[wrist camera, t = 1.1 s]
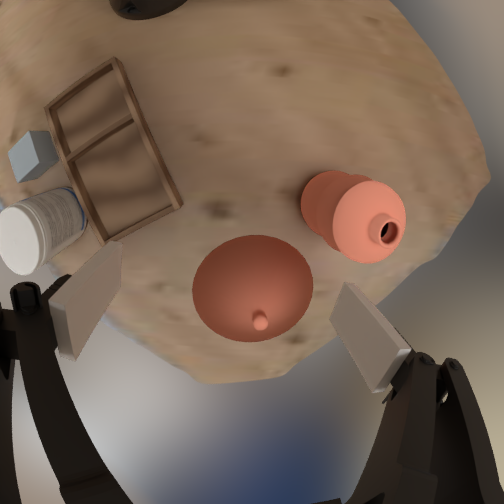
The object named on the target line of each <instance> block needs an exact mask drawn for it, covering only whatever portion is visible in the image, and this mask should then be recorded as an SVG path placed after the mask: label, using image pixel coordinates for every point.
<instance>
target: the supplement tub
mask: <svg viewBox="0 0 504 504" xmlns="http://www.w3.org/2000/svg"><path fill="white" fill-rule="evenodd" d="M86 223H87V217H86V215H85V213H84V211H83V209H82V207H81V205H80V203H79V200H78V198H77V196H76V194H75V191H74V190H73V189H71V188H67V187H61V188H57V189H54V190H50V191H47V192H44V193H41V194H38V195H35V196H33V197H30V198H27V199H24V200H21V201H19V202H16V203H14V204H12V205H10V206H9V207H7V208H6V209H4V210H3V211H2V212H1V213H0V255H1V257H2V259H3V261H4V262H5V264H6V265H7V266H8V267H9V268H10V269H11V270H12V271H13V272H15V273H17V274H19V275H28V274H30V273H32V272H34V271H36V270H37V269H39V268H40V267H41V266H43V265H44V264H45V263H46V262H48V261H49V260H50V259H52V258H53V257H54V256H55V255H57V254H58V253H59V252H61V251H62V250H63V249H65V248H66V247H68V246H69V245H70V244H72V243H73V242H74V241H76V240H77V239H78V238H79V237H80V236H81V235H82V234H83V232H84V230H85V227H86Z"/></svg>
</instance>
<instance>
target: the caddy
mask: <svg viewBox="0 0 504 504" xmlns="http://www.w3.org/2000/svg"><path fill="white" fill-rule="evenodd" d="M44 110H45V113H46V116H47V120H48V123H49V126H50V129H51V132H52V135H53V138H54V141H55V144H56V147H57V149H58V152H59V155H60V158H61V160H62V163H63V165H64V168H65V170H66V173H67V175H68V178H69V180H70V182H71V185H72V187H73V189H74V191H75V194H76V196H77V198H78V200H79V203H80V205H81V207H82V209H83V211H84V213H85V215H86V217H87V219H88V221H89V223H90V225H91V227H92V229H93V231H94V233H95V235H96V237H97V239H98V241H99V242H100V244H101V246H102V247H104V246H105V245H106V244H107V243H108V242H109V241H117V240H119V239H121V238H123V237H125V236H127V235H128V234H130V233H132V232H134V231H136V230H138V229H140V228H142V227H144V226H145V225H147V224H149V223H151V222H153V221H155V220H157V219H159V218H161V217H163V216H165V215H167V214H169V213H171V212H173V211H175V210H177V209H179V208H181V206H182V205H183V202H182V200H181V198H180V196H179V194H178V191H177V189H176V187H175V185H174V183H173V181H172V179H171V177H170V174H169V172H168V170H167V168H166V166H165V164H164V161H163V159H162V157H161V155H160V153H159V150H158V148H157V146H156V144H155V141H154V139H153V137H152V135H151V132H150V130H149V128H148V125H147V123H146V121H145V118H144V116H143V114H142V111H141V109H140V107H139V104H138V102H137V100H136V97H135V95H134V92H133V90H132V87H131V85H130V83H129V80H128V78H127V75H126V73H125V70H124V68H123V65H122V63H121V62H120V61H119V60H118V59H117V58H116V57H113V58H111V59H109V60H108V61H106V62H104V63H103V64H101V65H100V66H98V67H97V68H95V69H94V70H92V71H91V72H89V73H88V74H86V75H85V76H83V77H82V78H81V79H79V80H78V81H76V82H75V83H74V84H72V85H71V86H70V87H68V88H67V89H66V90H65V91H63V92H62V93H61V94H60V95H58V96H57V97H56V98H55V99H53V100H52V101H51V102H50V103H49V104H48V105H46V106H45V107H44Z"/></svg>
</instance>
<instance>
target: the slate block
mask: <svg viewBox="0 0 504 504" xmlns="http://www.w3.org/2000/svg"><path fill="white" fill-rule="evenodd" d="M8 155H9V159H10V162H11V165H12V168H13V171H14V174H15V177H16V180H17V183H21V182H25V181H29V180H34V179H38V178H39V177H40V176H41V175H42V174H43V173H44V172H46V171H47V170H48V169H49V168H50V167H51V166H53V165H54V164H55V163H56V162H58V161H59V159H58V156H57V153H56V151H55V148H54V145H53V142H52V139H51V137H50V134H49V132H48V131H28V132H27V133H26V134H25V135H24V136H23V137H22V138H21V139H20V140H19V141H18V142H17V143H16V144H15V145H14V146H13V147H12V148H11V150H10V151H9V152H8Z"/></svg>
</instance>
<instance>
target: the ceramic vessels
mask: <svg viewBox="0 0 504 504" xmlns="http://www.w3.org/2000/svg"><path fill="white" fill-rule="evenodd" d="M301 212H302V215H303V218H304V220H305V222H306V223H307V225H308V226H309V227H310V228H311V230H313V231H314V232H315V233H317V234H319V235H321V236H322V237H323V238H324V240H325V241H326V242H327V243H328V245H330V246H331V247H332V248H333V249H335V250H337V251H339V252H342V253H343V254H344V255H345V256H346V257H348V258H349V259H351V260H353V261H357V262H361V263H375V262H378V261H380V260H383V259H384V258H386V257H387V256H389V255H390V254H391V253H392V252H393V251H394V250H395V249H396V247H397V246H398V244H399V243H400V241H401V239H402V236H403V233H404V230H405V224H406V215H405V209H404V206H403V203H402V201H401V199H400V197H399V196H398V195H397V194H396V192H395V191H394V190H392V189H391V188H390V187H388V186H387V185H386V184H383V183H381V182H377V181H373V180H372V179H370V178H368V177H366V176H363V175H349V174H347V173H344V172H341V171H326V172H323V173H320V174H318V175H316V176H315V177H314V178H312V179H311V180H310V181H309V183H308V184H307V185H306V187H305V189H304V191H303V194H302V197H301ZM192 292H193V301H194V305H195V308H196V311H197V312H198V314H199V316H200V318H201V319H202V320H203V322H204V323H205V324H206V325H207V326H208V327H209V328H210V329H212V330H213V331H214V332H216V333H217V334H219V335H221V336H223V337H225V338H228V339H231V340H235V341H241V342H258V341H264V340H268V339H271V338H274V337H277V336H279V335H281V334H282V333H284V332H286V331H288V330H289V329H290V328H291V327H293V326H294V325H295V324H296V323H297V322H298V321H299V320H300V319H301V318H302V316H303V315H304V313H305V312H306V310H307V308H308V306H309V304H310V301H311V298H312V292H313V277H312V274H311V270H310V267H309V265H308V264H307V262H306V260H305V258H304V257H303V256H302V255H301V254H300V253H299V251H298V250H297V249H295V248H294V247H292V246H291V245H290V244H288V243H287V242H284V241H282V240H280V239H277V238H274V237H269V236H264V235H249V236H243V237H238V238H235V239H232V240H230V241H227V242H225V243H223V244H222V245H220V246H218V247H217V248H215V249H214V250H213V251H212V252H211V253H210V254H209V255H208V256H207V257H205V259H204V260H203V262H202V263H201V265H200V266H199V267H198V270H197V272H196V275H195V277H194V282H193V288H192Z"/></svg>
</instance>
